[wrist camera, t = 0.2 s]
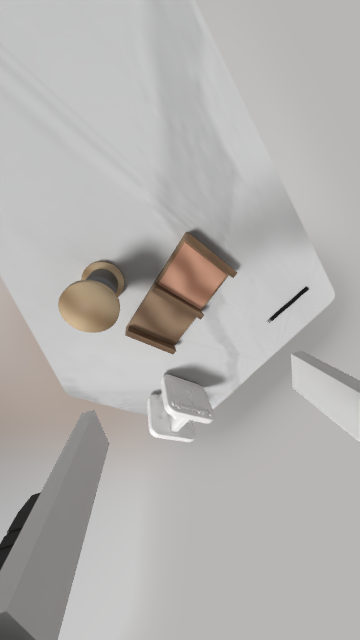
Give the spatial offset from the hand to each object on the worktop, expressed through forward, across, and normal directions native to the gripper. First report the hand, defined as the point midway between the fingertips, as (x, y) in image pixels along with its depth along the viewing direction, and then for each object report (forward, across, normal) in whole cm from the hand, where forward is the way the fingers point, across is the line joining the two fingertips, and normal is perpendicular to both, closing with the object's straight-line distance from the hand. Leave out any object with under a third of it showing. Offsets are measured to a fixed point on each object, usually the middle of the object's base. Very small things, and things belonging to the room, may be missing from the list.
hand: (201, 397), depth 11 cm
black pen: (+31, +30, -6) cm, 44 cm away
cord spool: (+25, -10, +9) cm, 29 cm away
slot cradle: (+28, +3, +2) cm, 28 cm away
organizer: (+36, -3, -25) cm, 44 cm away
